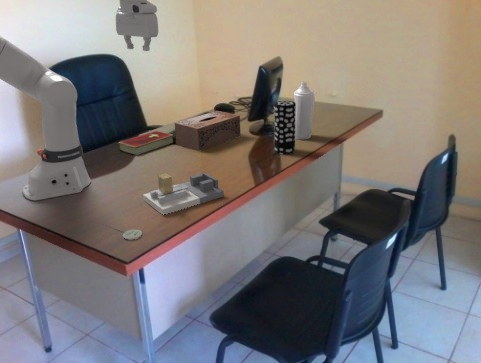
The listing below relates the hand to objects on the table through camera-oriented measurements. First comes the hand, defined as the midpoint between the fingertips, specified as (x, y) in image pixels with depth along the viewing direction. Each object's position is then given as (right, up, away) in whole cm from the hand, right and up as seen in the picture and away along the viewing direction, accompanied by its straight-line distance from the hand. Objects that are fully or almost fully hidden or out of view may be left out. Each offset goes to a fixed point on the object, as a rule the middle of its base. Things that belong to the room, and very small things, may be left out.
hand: (138, 50), depth 160 cm
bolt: (+13, -49, -11) cm, 52 cm away
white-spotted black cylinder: (+53, -33, +32) cm, 70 cm away
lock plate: (+17, -51, -8) cm, 54 cm away
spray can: (+63, -26, +48) cm, 83 cm away
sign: (+1, -60, -27) cm, 66 cm away
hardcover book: (-6, -30, +43) cm, 53 cm away
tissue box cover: (+21, -27, +48) cm, 59 cm away
